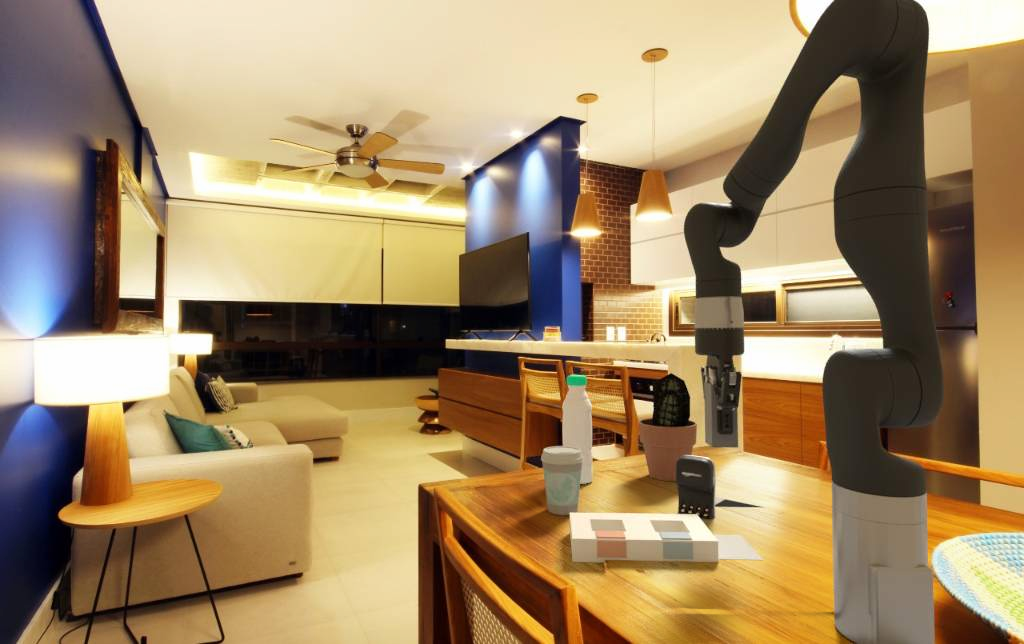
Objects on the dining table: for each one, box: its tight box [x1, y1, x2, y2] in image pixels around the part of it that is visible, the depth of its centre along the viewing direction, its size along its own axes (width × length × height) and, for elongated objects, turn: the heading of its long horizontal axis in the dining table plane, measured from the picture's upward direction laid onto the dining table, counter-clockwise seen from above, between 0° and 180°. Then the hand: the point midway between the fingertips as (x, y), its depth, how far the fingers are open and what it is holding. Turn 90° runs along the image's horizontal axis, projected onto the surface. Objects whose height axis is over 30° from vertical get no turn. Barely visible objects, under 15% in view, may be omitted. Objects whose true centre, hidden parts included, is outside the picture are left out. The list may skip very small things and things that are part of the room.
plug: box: [703, 379, 739, 448], centre depth 88 cm, size 4×4×11 cm
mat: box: [713, 534, 764, 561], centre depth 88 cm, size 10×8×1 cm
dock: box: [569, 512, 720, 564], centre depth 89 cm, size 12×22×4 cm, turn 86°
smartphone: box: [715, 496, 766, 509], centre depth 106 cm, size 7×15×1 cm, turn 46°
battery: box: [675, 454, 717, 520], centre depth 103 cm, size 7×4×11 cm, turn 54°
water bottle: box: [561, 374, 594, 485], centre depth 129 cm, size 7×7×25 cm
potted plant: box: [638, 372, 698, 482], centre depth 132 cm, size 14×14×25 cm
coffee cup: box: [540, 445, 584, 516], centre depth 108 cm, size 9×8×12 cm
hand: (720, 430), depth 88 cm, fingers closed on plug, 4 cm apart
